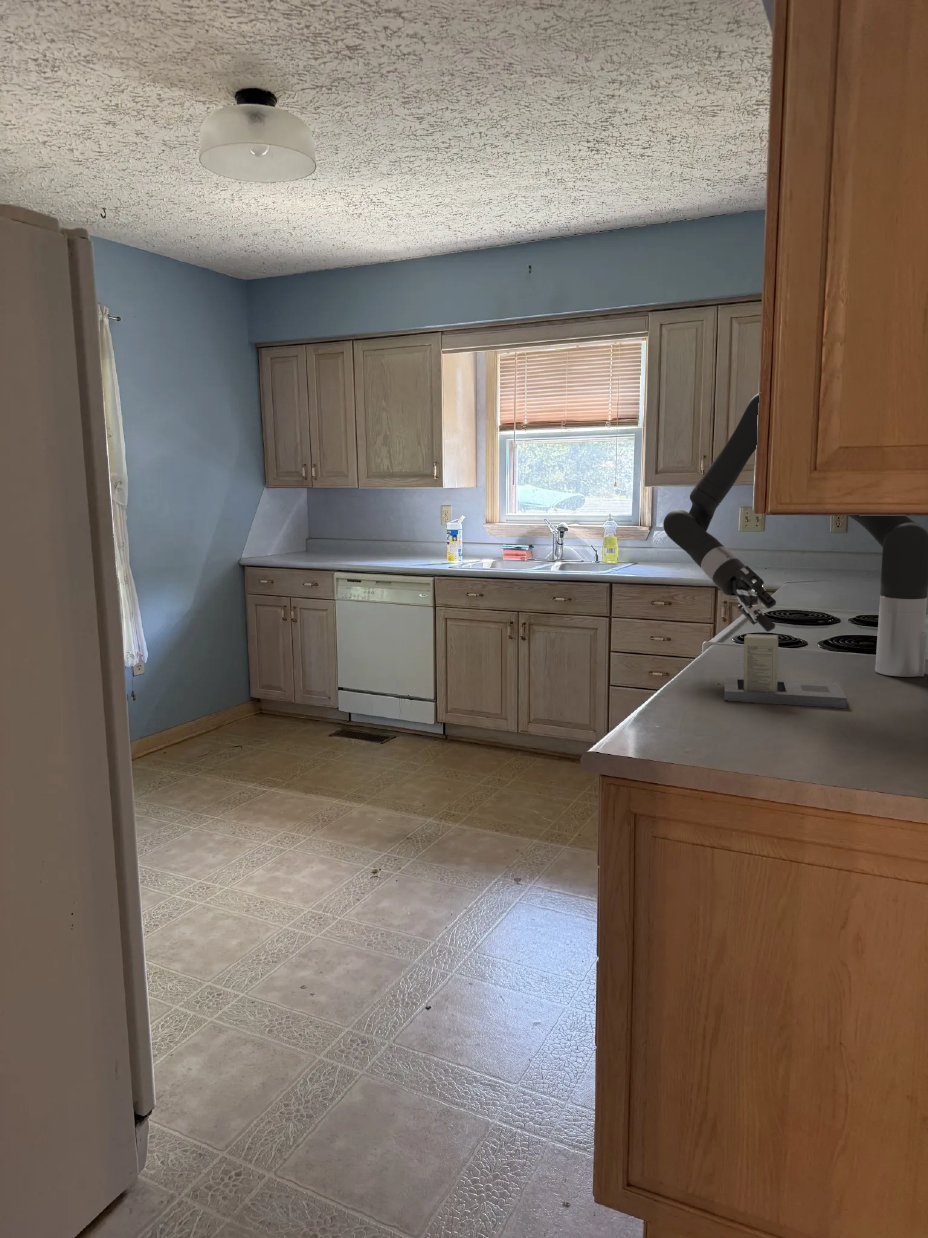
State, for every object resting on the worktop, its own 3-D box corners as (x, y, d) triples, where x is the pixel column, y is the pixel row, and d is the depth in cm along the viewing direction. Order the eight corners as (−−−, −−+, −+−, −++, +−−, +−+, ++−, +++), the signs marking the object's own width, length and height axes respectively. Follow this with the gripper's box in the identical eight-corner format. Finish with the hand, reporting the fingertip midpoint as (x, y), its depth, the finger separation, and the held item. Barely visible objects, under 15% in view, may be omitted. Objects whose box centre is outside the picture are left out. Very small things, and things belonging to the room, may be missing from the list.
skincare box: (777, 694, 170) (780, 634, 168) (775, 699, 166) (778, 638, 164) (744, 691, 173) (746, 632, 171) (741, 696, 169) (744, 636, 167)
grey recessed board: (837, 692, 171) (838, 682, 171) (846, 708, 159) (846, 698, 158) (724, 686, 177) (724, 676, 177) (724, 701, 165) (724, 691, 165)
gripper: (739, 542, 184) (788, 588, 174) (740, 582, 195) (785, 628, 185) (710, 558, 184) (757, 606, 173) (712, 597, 195) (757, 644, 184)
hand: (772, 617), depth 179 cm, fingers open, 8 cm apart
